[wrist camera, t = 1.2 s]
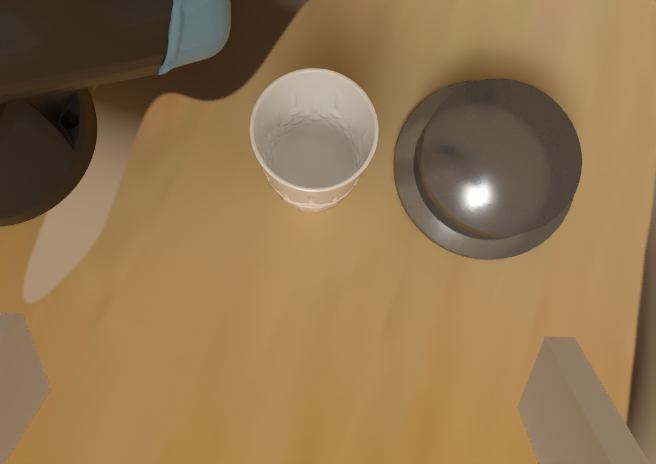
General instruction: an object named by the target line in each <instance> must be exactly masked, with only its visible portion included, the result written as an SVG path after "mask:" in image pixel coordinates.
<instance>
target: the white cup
mask: <svg viewBox="0 0 656 464" xmlns="http://www.w3.org/2000/svg"><path fill="white" fill-rule="evenodd" d="M378 136H379V126H378V119H377V115H376V111H375V109H374V106H373V104H372V102H371V100H370V99H369V97H368V96H367V94H366V93H365V92H364V91H363V89H362V88H361V87H360V86H359V85H358V84H356V83H355V82H354V81H352V80H351V79H350V78H348V77H346V76H344V75H342V74H340V73H338V72H335V71H332V70H328V69H322V68H305V69H299V70H295V71H292V72H289V73H287V74H285V75H283V76H281V77H279V78H277V79H276V80H275V81H273V82H272V83H271V84H270V85H269V86H268V87H267V88H266V89H265V90H264V91H263V92H262V93H261V95H260V96H259V98H258V100H257V101H256V103H255V106H254V108H253V111H252V114H251V119H250V140H251V144H252V148H253V151H254V153H255V155H256V157H257V159H258V161H259V163H260V165H261V167H262V169H263V171H264V173H265V175H266V177H267V179H268V180H269V182H270V183H271V185H272V187H273V188H274V190H275V191H276V192H277V193H278V194H279V195H280V197H281V198H282V199H283V201H284V202H285V203H287V204H289V205H291V206H293V207H294V208H296V209H298V210H300V211H310V212H321V211H324V210H326V209H328V208H331V207H333V206H336V205H338V203H339V202H340V201H341V200H342V199H343V198H344V197H345V196H346V195H347V194H348V193H349V192H350V191H351V189H352V188H353V187H354V185H355V184H356V183H357V182H358V180H359V178H360V177H361V175H362V174H363V172H364V170H365V169H366V167H367V166H368V164H369V163H370V161H371V159H372V157H373V155H374V153H375V150H376V147H377V143H378Z"/></svg>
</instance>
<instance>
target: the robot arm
mask: <svg viewBox="0 0 656 464" xmlns="http://www.w3.org/2000/svg"><path fill="white" fill-rule="evenodd" d="M230 26H231V7H230V0H0V226H8V225H13V224H18V223H21V222H25V221H28V220H30V219H33V218H35V217H37V216H39V215H41V214H43V213H45V212H47V211H48V210H50V209H52V208H53V207H54V206H56V205H57V204H59V203H60V202H61V201H62V200H63V199H64V198H66V196H68V195H69V194H70V193H71V192H72V190H73V189H74V188H75V187H76V186H77V184H78V183H79V182H80V180H81V179H82V177H83V175H84V174H85V172H86V170H87V168H88V166H89V164H90V162H91V159H92V156H93V153H94V149H95V145H96V138H97V118H96V113H95V108H94V104H93V101H92V99H91V96H90V94H89V92H88V90H87V88H86V87H91V86H96V85H101V84H107V83H112V82H117V81H122V80H127V79H132V78H138V77H143V76H148V75H153V74H159V75H161V74H165V73H167V72H168V71H169V70H170V69H171V68H175V67H178V66H182V65H185V64H189V63H192V62H196V61H199V60H203V59H207V58H209V57H212V56H213V55H215V54H217V53H218V52H219V51H220V50H221V49H222V48H223V47H224V45H225V43H226V41H227V39H228V36H229V32H230ZM50 390H51V387H50V384H49V382H48V379H47V377H46V374H45V371H44V369H43V366H42V363H41V361H40V358H39V355H38V353H37V350H36V347H35V345H34V342H33V340H32V337H31V334H30V332H29V329H28V326H27V324H26V321H25V318H24V316H23V314H8V313H0V464H5V462H6V461H7V459H8V457H9V456H10V454H11V453H12V451H13V449H14V448H15V446H16V445H17V443H18V441H19V440H20V438H21V437H22V435H23V433H24V432H25V430H26V429H27V427H28V425H29V424H30V422H31V421H32V419H33V417H34V416H35V414H36V413H37V411H38V409H39V408H40V406H41V404H42V403H43V401H44V400H45V398H46V396H47V395H48V393H49V392H50ZM518 411H519V414H520V416H521V419H522V421H523V424H524V427H525V429H526V432H527V435H528V437H529V440H530V442H531V445H532V448H533V450H534V453H535V455H536V458H537V461H538V463H539V464H649V463H648V461H647V459H646V457H645V456H644V454H643V452H642V451H641V449H640V447H639V446H638V444H637V442H636V441H635V439H634V437H633V436H632V434H631V432H630V431H629V429H628V427H627V425H626V424H625V422H624V420H623V419H622V417H621V415H620V413H619V412H618V410H617V408H616V407H615V405H614V403H613V402H612V400H611V398H610V397H609V395H608V393H607V391H606V390H605V388H604V386H603V385H602V383H601V381H600V380H599V378H598V376H597V375H596V373H595V371H594V369H593V368H592V366H591V364H590V363H589V361H588V359H587V358H586V356H585V354H584V353H583V351H582V349H581V347H580V346H579V344H578V342H577V341H576V339H575V338H569V337H546V336H545V337H544V340H543V342H542V345H541V348H540V350H539V353H538V355H537V358H536V361H535V363H534V366H533V368H532V371H531V374H530V376H529V379H528V381H527V384H526V387H525V389H524V392H523V395H522V397H521V400H520V402H519V405H518Z"/></svg>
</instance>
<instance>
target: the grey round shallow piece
mask: <svg viewBox="0 0 656 464" xmlns="http://www.w3.org/2000/svg"><path fill="white" fill-rule="evenodd" d="M581 168H582V153H581V148H580V142H579V139H578V136H577V133H576V131H575V129H574V126H573V124H572V123H571V121H570V119H569V118H568V116H567V115H566V113H565V112H564V111H563V110H562V108H561V107H560V106H559V105H558V104H557V103H556V102H555V101H554V100H553V99H551V98H550V97H549V96H548V95H546V94H545V93H543V92H542V91H540V90H538V89H537V88H535V87H532V86H530V85H528V84H525V83H522V82H519V81H515V80H509V79H486V80H475V81H466V82H461V83H456V84H453V85H450V86H447V87H445V88H443V89H441V90H439V91H437V92H435V93H434V94H432V95H431V96H429V97H428V98H426V99H425V100H424V101H423V102H422V103H421V104H420V105H419V106H418V107H417V108H416V109H415V110H414V111H413V113H412V114H411V115H410V117H409V118H408V120H407V121H406V123H405V125H404V127H403V129H402V131H401V133H400V135H399V138H398V141H397V145H396V148H395V155H394V178H395V184H396V188H397V192H398V195H399V198H400V200H401V203H402V205H403V207H404V209H405V211H406V212H407V214H408V216H409V217H410V219H411V220H412V221H413V223H414V224H415V225H416V226H417V228H418V229H419V230H420V231H421V232H422V233H423V234H424V235H425V236H427V237H428V238H429V239H430V240H432V241H433V242H434V243H436V244H438V245H439V246H441V247H442V248H444V249H446V250H448V251H451V252H453V253H455V254H458V255H461V256H465V257H469V258H474V259H486V260H493V259H503V258H507V257H512V256H516V255H519V254H522V253H524V252H527V251H529V250H531V249H533V248H535V247H536V246H538V245H540V244H541V243H542V242H544V241H545V240H546V239H548V238H549V237H550V236H551V235H552V234H553V233H554V232H555V231H556V230H557V228H558V227H559V226H560V224H561V223H562V222H563V220H564V218H565V217H566V215H567V213H568V211H569V209H570V206H571V203H572V201H573V197H574V194H575V192H576V189H577V187H578V184H579V180H580V176H581Z"/></svg>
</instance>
